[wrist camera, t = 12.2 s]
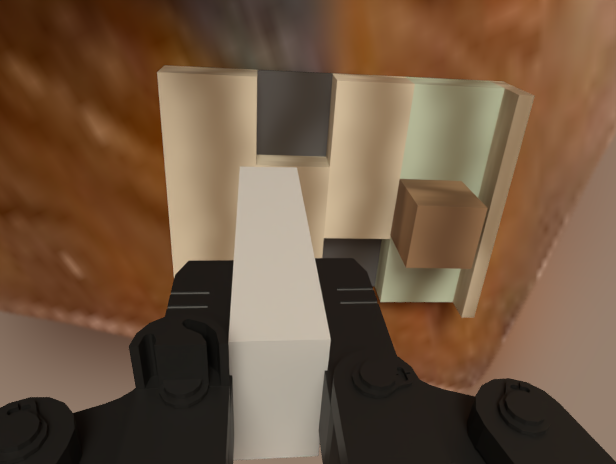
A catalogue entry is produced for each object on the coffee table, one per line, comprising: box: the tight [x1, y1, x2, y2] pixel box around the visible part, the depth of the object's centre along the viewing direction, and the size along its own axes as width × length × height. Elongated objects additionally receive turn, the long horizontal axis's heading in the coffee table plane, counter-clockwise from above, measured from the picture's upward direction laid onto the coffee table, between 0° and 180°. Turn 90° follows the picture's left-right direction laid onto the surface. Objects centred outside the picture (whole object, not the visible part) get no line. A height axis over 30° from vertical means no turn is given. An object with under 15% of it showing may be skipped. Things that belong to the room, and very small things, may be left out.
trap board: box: [157, 65, 534, 317], centre depth 34 cm, size 23×17×4 cm
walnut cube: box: [390, 179, 488, 269], centre depth 33 cm, size 4×4×4 cm
